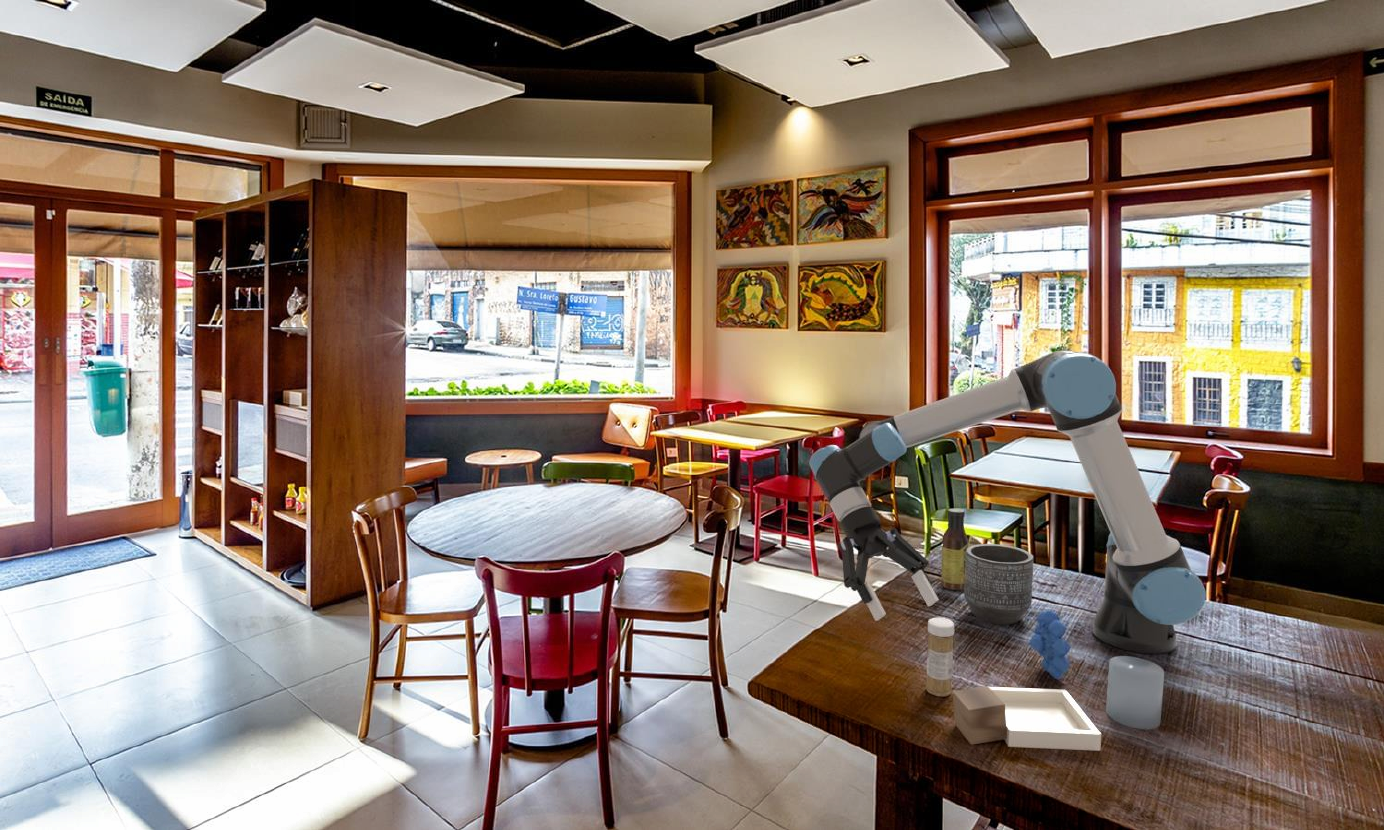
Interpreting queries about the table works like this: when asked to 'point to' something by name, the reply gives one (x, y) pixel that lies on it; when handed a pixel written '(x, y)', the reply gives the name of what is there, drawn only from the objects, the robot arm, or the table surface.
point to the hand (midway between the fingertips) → (907, 610)
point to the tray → (1046, 720)
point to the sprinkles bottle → (940, 656)
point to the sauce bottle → (954, 551)
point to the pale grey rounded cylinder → (1135, 692)
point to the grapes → (1051, 643)
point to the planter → (998, 582)
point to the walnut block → (979, 715)
